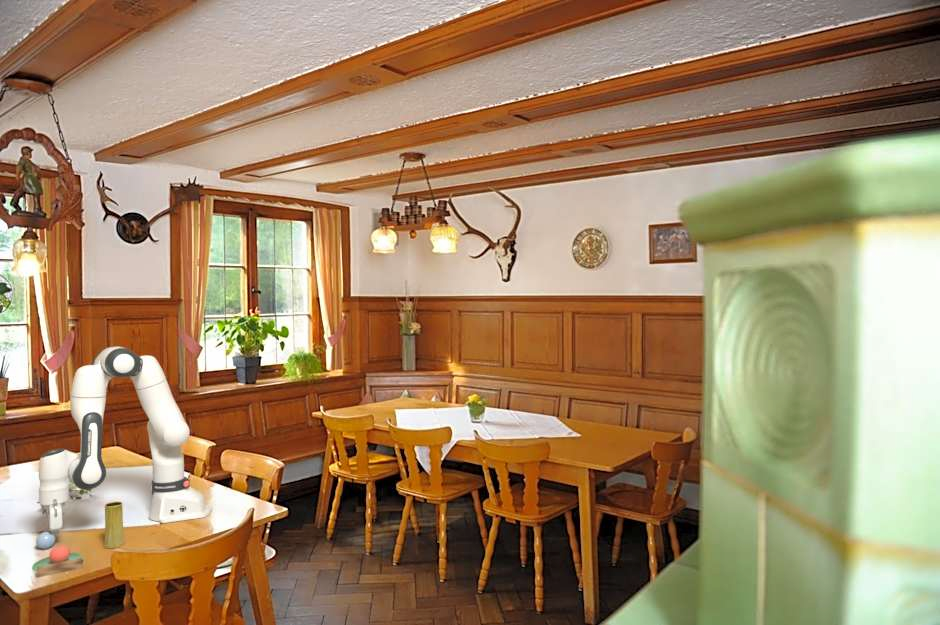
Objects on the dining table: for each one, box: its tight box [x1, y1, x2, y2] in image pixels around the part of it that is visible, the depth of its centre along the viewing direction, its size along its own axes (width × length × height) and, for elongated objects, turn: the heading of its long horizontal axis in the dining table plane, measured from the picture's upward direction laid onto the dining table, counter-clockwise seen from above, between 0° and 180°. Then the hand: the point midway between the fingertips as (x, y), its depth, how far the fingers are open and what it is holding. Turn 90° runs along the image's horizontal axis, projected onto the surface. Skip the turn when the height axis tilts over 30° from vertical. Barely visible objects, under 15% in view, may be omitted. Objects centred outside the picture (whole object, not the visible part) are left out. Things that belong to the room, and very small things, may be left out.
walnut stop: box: [36, 558, 84, 578], centre depth 199 cm, size 12×2×2 cm, turn 125°
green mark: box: [31, 552, 85, 572], centre depth 206 cm, size 14×14×1 cm
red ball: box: [48, 545, 71, 563], centre depth 205 cm, size 6×6×6 cm
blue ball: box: [35, 531, 56, 550], centre depth 217 cm, size 6×6×6 cm
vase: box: [103, 501, 125, 549], centre depth 220 cm, size 6×6×14 cm
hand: (54, 535), depth 224 cm, fingers closed
